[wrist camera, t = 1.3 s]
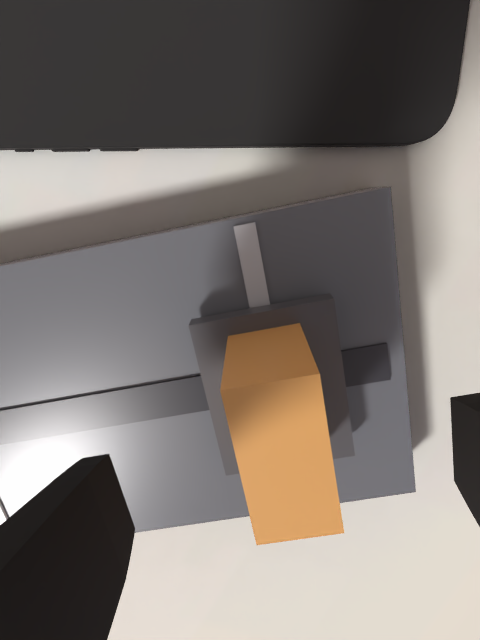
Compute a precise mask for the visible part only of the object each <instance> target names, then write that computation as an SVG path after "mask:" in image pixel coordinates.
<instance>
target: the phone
mask: <svg viewBox="0 0 480 640" xmlns="http://www.w3.org/2000/svg"><path fill="white" fill-rule="evenodd" d="M469 4H470V0H0V150H15V152H34V150H52V151H54V152H80V151H90V149H100V151H138V149H168V148H275V147H380V146H405V145H411V144H415V143H418V142H421V141H424V140H426V139H428V138H430V137H432V136H433V135H435V134H436V133H437V132H438V131H439V130H440V129H441V128H442V127H443V126H444V124H445V123H446V121H447V120H448V118H449V116H450V114H451V112H452V109H453V106H454V103H455V99H456V93H457V87H458V80H459V74H460V67H461V60H462V53H463V46H464V39H465V32H466V25H467V18H468V11H469Z"/></svg>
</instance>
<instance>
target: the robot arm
mask: <svg viewBox="0 0 480 640" xmlns="http://www.w3.org/2000/svg"><path fill="white" fill-rule="evenodd" d="M450 399H451V421H452V443H453V465H454V481H455V483H456V485H457V487H458V489H459V491H460V492H461V494H462V496H463V498H464V500H465V502H466V504H467V505H468V507H469V509H470V511H471V512H472V514H473V516H474V518H475V519H476V521H477V523H478V525H479V526H480V393H475V394H469V395H463V396H457V397H451V398H450ZM134 533H135V526H134V523H133V521H132V518H131V515H130V512H129V509H128V506H127V503H126V500H125V498H124V495H123V492H122V489H121V486H120V483H119V480H118V478H117V475H116V472H115V469H114V466H113V463H112V460H111V457H110V455H109V454H104V455H98V456H92V457H86V458H82V459H80V460H79V461H77V462H76V463H75V464H73V465H72V466H71V467H69V468H68V469H67V470H65V471H64V472H63V473H62V474H60V475H59V476H58V477H57V478H56V479H54V480H53V481H52V482H51V483H50V484H48V485H47V486H46V487H45V488H44V489H42V490H41V491H40V492H39V493H38V494H37V495H35V496H34V497H33V498H32V499H31V500H29V501H28V502H27V503H26V504H25V505H23V506H22V507H21V508H20V509H19V510H18V511H16V512H15V513H14V514H13V515H12V516H10V517H9V518H8V519H7V520H6V521H4V522H3V523H2V524H1V525H0V640H107V638H108V635H109V632H110V629H111V625H112V622H113V619H114V616H115V613H116V609H117V606H118V603H119V600H120V596H121V593H122V590H123V587H124V583H125V580H126V575H127V571H128V566H129V561H130V556H131V550H132V544H133V539H134Z"/></svg>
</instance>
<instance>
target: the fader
mask: <svg viewBox="0 0 480 640" xmlns="http://www.w3.org/2000/svg"><path fill="white" fill-rule="evenodd" d="M189 330H190V334H191V338H192V342H193V346H194V350H195V354H196V358H197V362H198V366H199V370H200V374H201V378H202V382H203V386H204V390H205V394H206V398H207V402H208V406H209V410H210V414H211V418H212V422H213V426H214V430H215V434H216V438H217V442H218V446H219V450H220V454H221V458H222V462H223V466H224V470H225V474H226V476H227V475H234V474H240V477H241V481H242V485H243V489H244V494H245V498H246V502H247V506H248V511H249V515H250V519H251V523H252V527H253V532H254V536H255V540H256V544H257V545H261V544H268V543H276V542H283V541H290V540H297V539H304V538H312V537H319V536H326V535H333V534H340V533H344V529H343V522H342V516H341V509H340V503H339V496H338V490H337V483H336V476H335V470H334V463H333V459H338V458H344V457H351V456H355V452H354V444H353V437H352V429H351V421H350V414H349V406H348V399H347V391H346V384H345V376H344V369H343V361H342V354H341V346H340V339H339V331H338V324H337V316H336V308H335V301H334V298H333V297H332V295H331V294H330V293H329V294H324V295H318V296H313V297H308V298H302V299H297V300H291V301H286V302H281V303H275V304H270V305H265V306H259V307H254V308H248V309H243V310H238V311H232V312H227V313H221V314H216V315H211V316H205V317H200V318H195V319H191V321H190V323H189Z"/></svg>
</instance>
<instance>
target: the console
mask: <svg viewBox="0 0 480 640" xmlns="http://www.w3.org/2000/svg"><path fill="white" fill-rule="evenodd" d="M329 293H330V294H331V295H332V297H333V298H334V301H335V308H336V316H337V324H338V331H339V339H340V346H341V354H342V361H343V369H344V376H345V384H346V391H347V399H348V406H349V414H350V421H351V429H352V437H353V444H354V452H355V456H351V457H344V458H338V459H333V463H334V470H335V476H336V483H337V490H338V496H339V503H343V502H350V501H357V500H363V499H370V498H377V497H384V496H391V495H398V494H405V493H412V492H416V489H415V477H414V465H413V453H412V440H411V428H410V416H409V404H408V392H407V380H406V368H405V355H404V343H403V331H402V319H401V307H400V295H399V283H398V270H397V258H396V246H395V234H394V222H393V210H392V198H391V187H374V188H369V189H364V190H359V191H354V192H349V193H344V194H340V195H335V196H330V197H325V198H320V199H315V200H310V201H305V202H300V203H296V204H291V205H286V206H281V207H276V208H271V209H266V210H261V211H256V212H252V213H247V214H242V215H237V216H232V217H227V218H222V219H217V220H212V221H208V222H203V223H198V224H193V225H188V226H183V227H178V228H173V229H168V230H163V231H159V232H154V233H149V234H144V235H139V236H134V237H129V238H124V239H119V240H115V241H110V242H105V243H100V244H95V245H90V246H85V247H80V248H75V249H71V250H66V251H61V252H56V253H51V254H46V255H41V256H36V257H31V258H27V259H22V260H17V261H12V262H7V263H2V264H0V525H1V524H2V523H3V522H4V521H6V520H7V519H8V518H9V517H10V516H12V515H13V514H14V513H15V512H16V511H18V510H19V509H20V508H21V507H22V506H23V505H25V504H26V503H27V502H28V501H29V500H31V499H32V498H33V497H34V496H35V495H37V494H38V493H39V492H40V491H41V490H42V489H44V488H45V487H46V486H47V485H48V484H50V483H51V482H52V481H53V480H54V479H56V478H57V477H58V476H59V475H60V474H62V473H63V472H64V471H65V470H67V469H68V468H69V467H71V466H72V465H73V464H75V463H76V462H77V461H79V460H80V459H82V458H86V457H92V456H98V455H104V454H109V455H110V457H111V460H112V463H113V466H114V469H115V472H116V475H117V478H118V480H119V483H120V486H121V489H122V492H123V495H124V498H125V500H126V503H127V506H128V509H129V512H130V515H131V518H132V521H133V523H134V526H135V533H136V532H143V531H149V530H156V529H163V528H170V527H177V526H184V525H191V524H198V523H205V522H212V521H218V520H225V519H232V518H239V517H246V516H250V515H249V511H248V506H247V502H246V498H245V494H244V489H243V485H242V481H241V477H240V474H234V475H227V476H226V474H225V470H224V466H223V462H222V458H221V454H220V450H219V446H218V442H217V438H216V434H215V430H214V426H213V422H212V418H211V414H210V410H209V406H208V402H207V398H206V394H205V390H204V386H203V382H202V378H201V374H200V370H199V366H198V362H197V358H196V354H195V350H194V346H193V342H192V338H191V334H190V330H189V323H190V321H191V319H195V318H200V317H205V316H211V315H216V314H221V313H227V312H232V311H238V310H243V309H248V308H254V307H259V306H265V305H270V304H275V303H281V302H286V301H291V300H297V299H302V298H308V297H313V296H318V295H324V294H329Z"/></svg>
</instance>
